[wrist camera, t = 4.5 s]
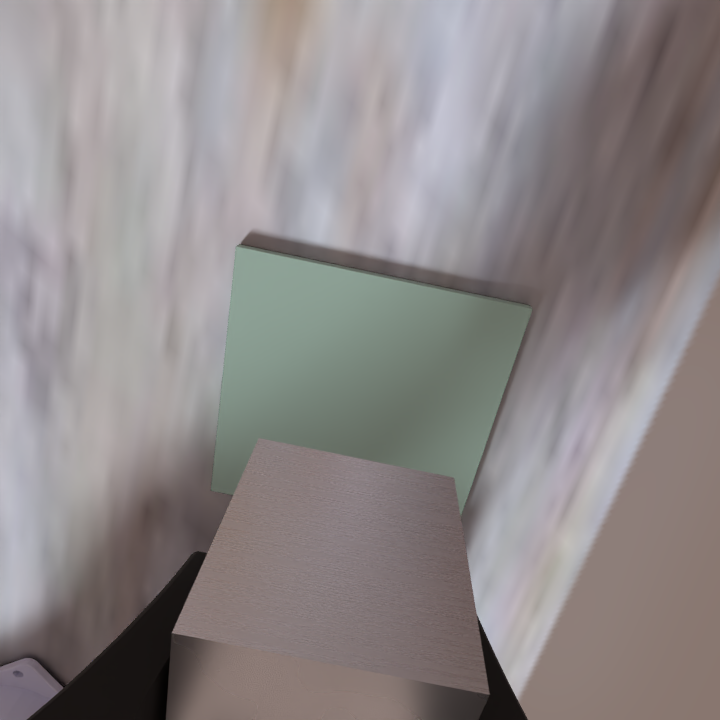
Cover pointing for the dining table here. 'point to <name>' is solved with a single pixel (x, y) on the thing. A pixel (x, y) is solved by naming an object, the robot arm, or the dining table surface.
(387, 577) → the lever cap
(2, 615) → the dining table surface
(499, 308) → the mat
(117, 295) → the dining table surface
